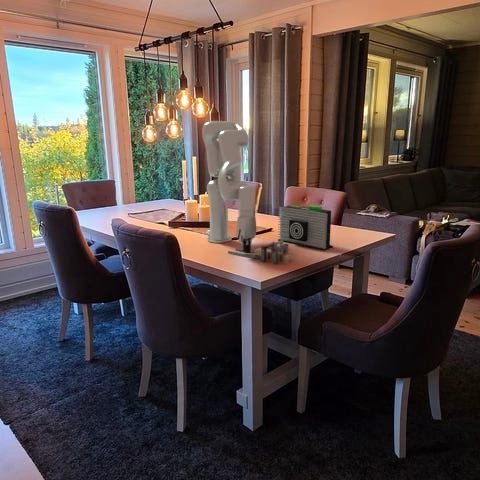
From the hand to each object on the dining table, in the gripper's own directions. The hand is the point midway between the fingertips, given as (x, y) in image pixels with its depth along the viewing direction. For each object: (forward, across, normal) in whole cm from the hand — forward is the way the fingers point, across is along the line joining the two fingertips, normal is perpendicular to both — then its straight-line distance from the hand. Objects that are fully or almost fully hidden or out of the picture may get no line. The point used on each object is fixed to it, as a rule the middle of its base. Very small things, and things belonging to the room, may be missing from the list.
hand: (246, 252), depth 186 cm
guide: (+1, 0, +1) cm, 1 cm away
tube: (+1, 0, +14) cm, 14 cm away
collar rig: (+1, 0, +15) cm, 15 cm away
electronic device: (+1, -30, +13) cm, 33 cm away
